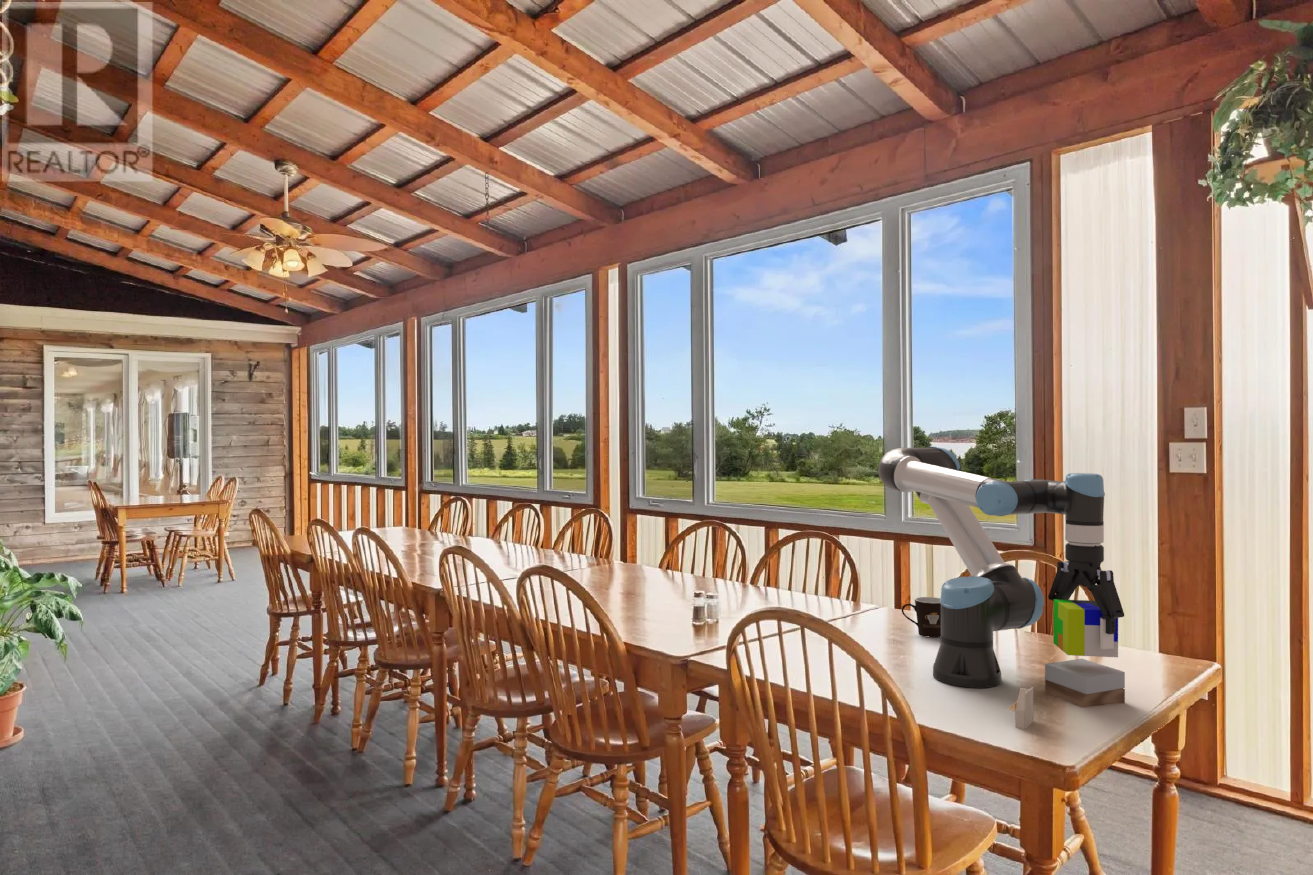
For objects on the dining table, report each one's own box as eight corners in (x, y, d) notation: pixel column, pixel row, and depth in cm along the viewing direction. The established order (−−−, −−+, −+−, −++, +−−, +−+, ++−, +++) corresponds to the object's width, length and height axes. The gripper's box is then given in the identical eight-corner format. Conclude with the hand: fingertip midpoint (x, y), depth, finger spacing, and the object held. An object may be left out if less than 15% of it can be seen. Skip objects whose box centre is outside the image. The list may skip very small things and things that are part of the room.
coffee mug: (949, 633, 235) (949, 599, 235) (942, 640, 228) (942, 604, 228) (908, 628, 242) (908, 594, 241) (900, 634, 234) (900, 599, 234)
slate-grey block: (1086, 694, 172) (1086, 677, 172) (1045, 679, 182) (1045, 663, 182) (1124, 688, 176) (1124, 671, 176) (1082, 673, 186) (1082, 658, 186)
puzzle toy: (1118, 657, 173) (1118, 610, 173) (1067, 655, 175) (1067, 608, 175) (1100, 645, 183) (1100, 600, 183) (1053, 643, 185) (1053, 599, 185)
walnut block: (1081, 709, 172) (1081, 693, 172) (1045, 693, 183) (1045, 678, 183) (1124, 705, 175) (1124, 689, 175) (1086, 689, 186) (1086, 674, 186)
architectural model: (1007, 727, 162) (1007, 690, 162) (1017, 718, 167) (1017, 682, 167) (1025, 731, 160) (1025, 694, 160) (1034, 722, 165) (1035, 685, 165)
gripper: (1144, 550, 168) (1143, 654, 168) (1059, 535, 192) (1058, 626, 192) (1113, 552, 166) (1113, 657, 166) (1031, 537, 190) (1031, 628, 190)
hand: (1084, 641), depth 179 cm, fingers closed on puzzle toy, 12 cm apart
